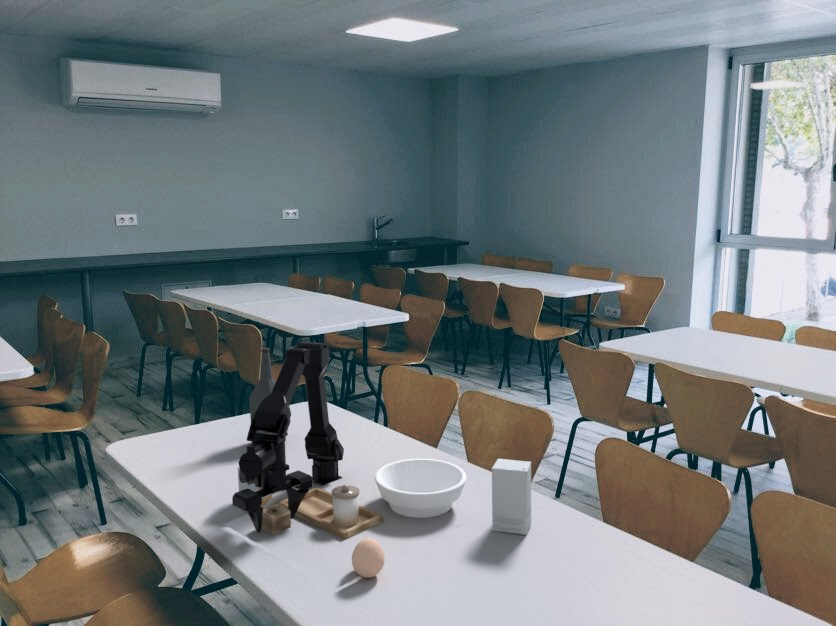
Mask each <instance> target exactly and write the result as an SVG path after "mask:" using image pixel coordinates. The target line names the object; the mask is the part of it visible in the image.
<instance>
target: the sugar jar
mask: <svg viewBox="0 0 836 626" xmlns="http://www.w3.org/2000/svg"><path fill="white" fill-rule="evenodd" d="M331 493H332V496H333V524H334V525H336V526H338V527H352V526H355V525H357V524H358V522H359V505H360V503H359V501H360V499H359V495H360V488H359V487H357V486H354V485H348V484H343V485H337V486H336V487H334V488H332V490H331Z"/></svg>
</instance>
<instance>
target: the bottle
mask: <svg viewBox="0 0 836 626" xmlns="http://www.w3.org/2000/svg"><path fill="white" fill-rule="evenodd" d="M260 358H261V361H260V362H261V363H260V373H259V374H260V376H259V380H258V381H257V383H256V385H255V386H254V388H253V390H252V392H251V394H250V395H249V414H250V416H249V417H250V422H251V421H252V417H253V414H254V412H255V411H256V409H257V407H258V406H259V404H260V402H261V401H262V400H263V399H265V398H266V397H268V396H269V395H270V393H271V391H272V389H273V387H274V384H275V382H276V380H275V378H273V371H272V364H271V363H272V362H271V357H270V348H269V347H262V348H261V357H260ZM256 433H261V434H268V433H269V432H259V431H257V432H256ZM286 441H287V436H286V437H285V442H286ZM250 442H251V444H253V441H250Z"/></svg>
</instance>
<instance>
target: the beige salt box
mask: <svg viewBox="0 0 836 626" xmlns="http://www.w3.org/2000/svg"><path fill="white" fill-rule="evenodd" d="M291 520H292V519H290V510H288V509H286V508H284V507H282V506H280V505H279V503H276V504H274V505H271V506H268V507H266V508H263V517H262V528H261V530H263V531H265V532H266V533H269V534H271V535H272V536H274V535H276V534H278V533H281V532H283V531H286V530H287V529H290V528H291V525H292V524H291V522H292V521H291Z"/></svg>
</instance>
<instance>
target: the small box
mask: <svg viewBox="0 0 836 626" xmlns="http://www.w3.org/2000/svg"><path fill="white" fill-rule="evenodd" d="M239 470H240V468H239V466H238V467H237V479H238V481H237V482H238V492H239V491H242V490H245V489H250V490H252V491H254V492H256V491H259V490H261V487H256V486H255V483H254V484H250V485H248V484H247V483H241V482H240V479H239ZM272 498H273V495H271V496H268V497H265V498H263V499H262V504H261V506H260V507H262V508H264V505H266V504H267V503H268V501H270V500H271V499H272Z"/></svg>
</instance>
